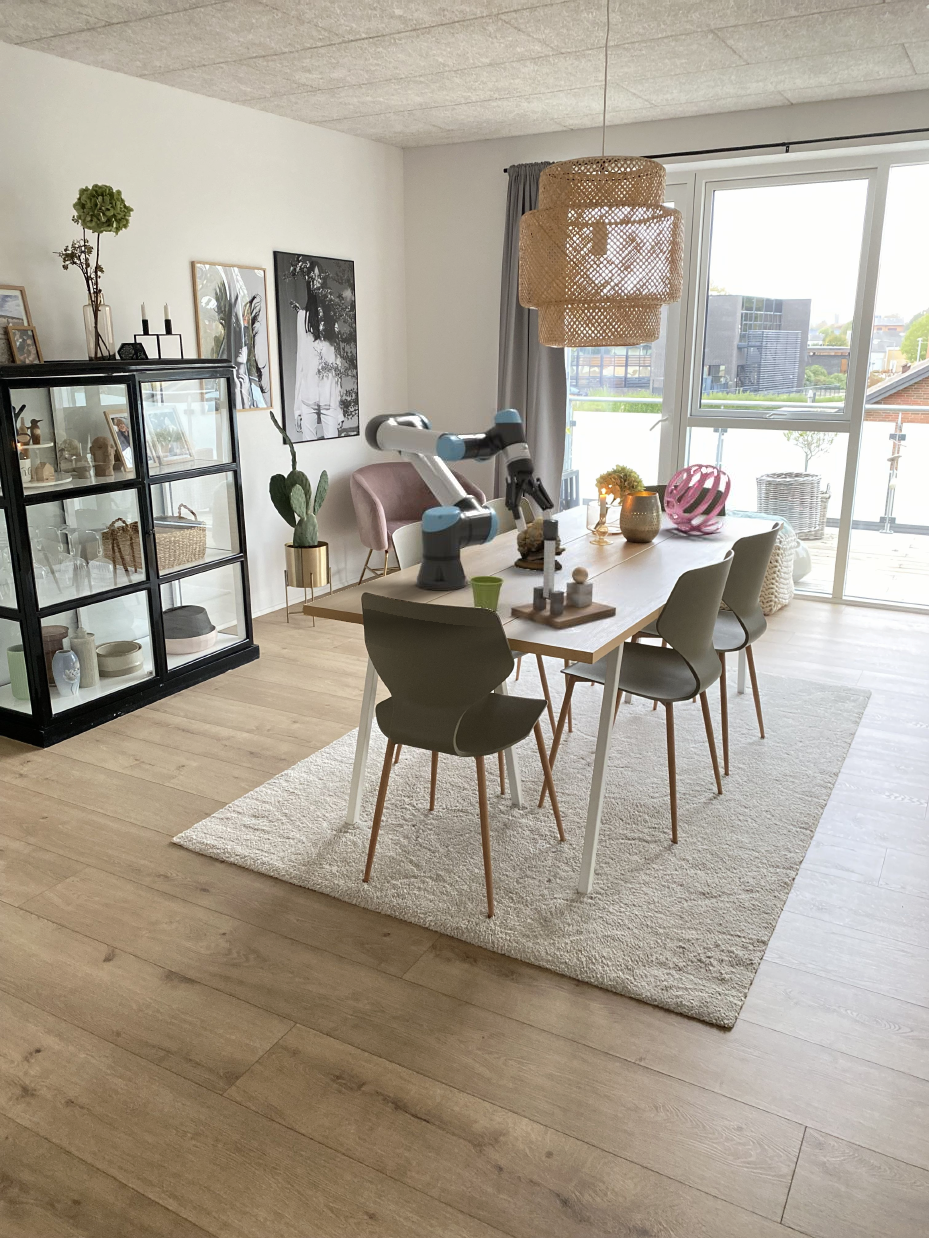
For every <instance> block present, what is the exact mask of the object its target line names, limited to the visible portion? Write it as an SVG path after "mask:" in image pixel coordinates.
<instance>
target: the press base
mask: <svg viewBox="0 0 929 1238" xmlns="http://www.w3.org/2000/svg"><path fill="white" fill-rule="evenodd" d="M593 586H594V583H593V582H589V581H587V580H586V581H585V582H583V583H577V582H575V581H574V580H572V581H567V582H566V593H565V591H562V590H554V591H553V592H551V593H550V600H548V599H544V598H542V594H543V585H540V586H535V587H533V588H532V589H533V591H532V592H533V595H532V596H533V597H532V599H533V600H532V602H531V603H526V604H523V605H522V604H521V605H518V606H513V607H511V609H510V610H511V612H510V614H511V616H512V617H513V616H514V617H518V618H521V619H524V620H527V621H530V622H534V623H537V624H541V625H543V626H547V627H550V628H554V629H557V630H562V629H565V628H568V627H573V626H577V625H581V624H585V623H589V622H593V621H597V620H600V619H605V618H607V617H613V616H616V615H617V614H616V613H617V607H616V606H611V605H609V604H604V603H600V602H595V601H593V591H594V590H593ZM565 594H566V595H565Z"/></svg>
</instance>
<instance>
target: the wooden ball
mask: <svg viewBox="0 0 929 1238" xmlns="http://www.w3.org/2000/svg"><path fill="white" fill-rule="evenodd" d="M571 578H572V581H575V582H577V583H583V582H585V581H586V582H587V580H588V578H589V572H588V569H586V568H584V567H582V566H578V567H575V568H574V569H573V570H572V572H571Z"/></svg>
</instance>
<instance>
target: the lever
mask: <svg viewBox="0 0 929 1238" xmlns="http://www.w3.org/2000/svg"><path fill="white" fill-rule="evenodd" d="M558 531H559V520H558V519H546V520H543V535H542V540H545V544H544V571H543V585H542V586H543V594H542V598H544V599H546V600H550V593H551V592H553V591H555V571H556V570H555V560H556V556H555V541H556V540H558V534H559V532H558Z"/></svg>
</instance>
